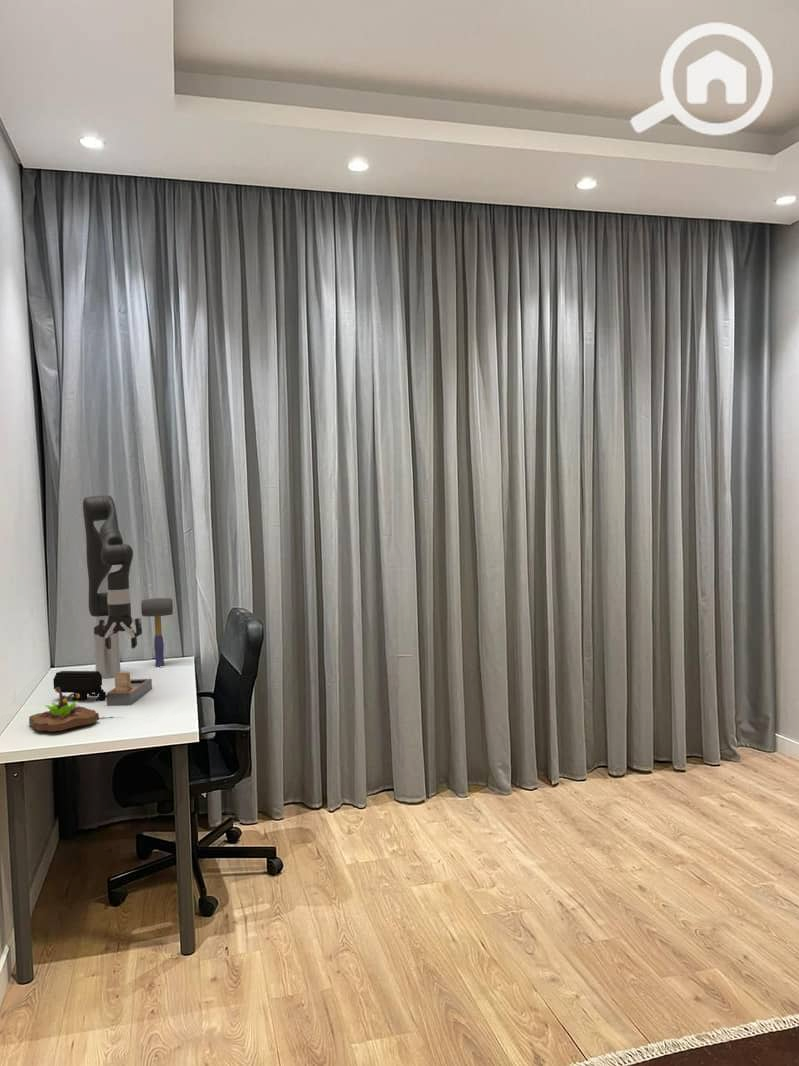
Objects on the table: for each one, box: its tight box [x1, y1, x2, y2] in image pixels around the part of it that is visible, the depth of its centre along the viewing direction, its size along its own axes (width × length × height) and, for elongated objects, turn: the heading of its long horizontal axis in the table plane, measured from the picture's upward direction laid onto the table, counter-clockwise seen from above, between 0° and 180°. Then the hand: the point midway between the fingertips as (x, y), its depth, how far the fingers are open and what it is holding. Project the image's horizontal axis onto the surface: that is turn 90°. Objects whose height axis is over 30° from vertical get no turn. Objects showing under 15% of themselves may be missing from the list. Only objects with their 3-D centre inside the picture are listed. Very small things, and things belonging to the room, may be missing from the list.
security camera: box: [52, 670, 107, 702], centre depth 303 cm, size 7×18×10 cm, turn 79°
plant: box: [28, 687, 100, 732], centre depth 273 cm, size 20×20×11 cm
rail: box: [106, 678, 153, 707], centre depth 305 cm, size 24×8×4 cm, turn 179°
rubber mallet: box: [140, 597, 174, 668], centre depth 352 cm, size 12×8×30 cm, turn 101°
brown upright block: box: [114, 671, 131, 692], centre depth 298 cm, size 4×4×9 cm
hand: (121, 648), depth 297 cm, fingers open, 8 cm apart
